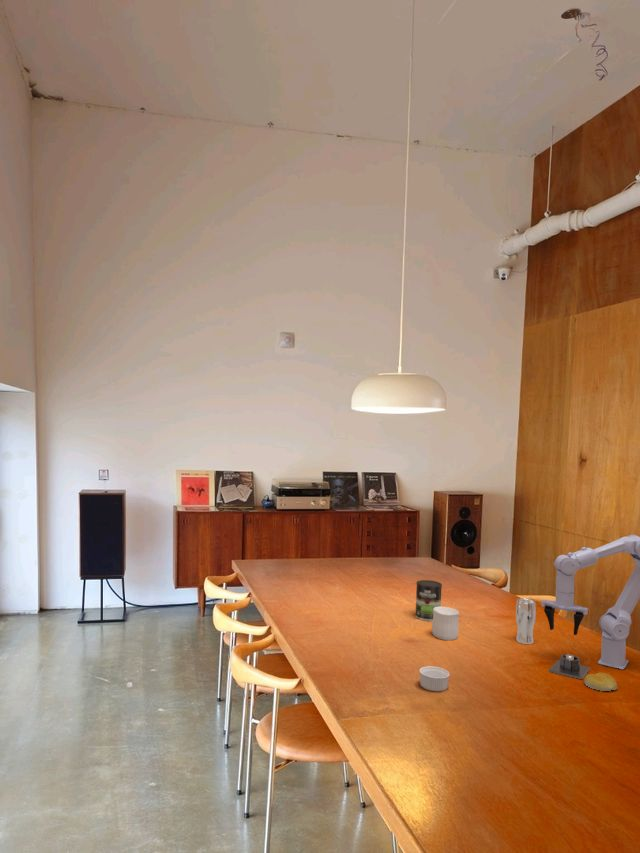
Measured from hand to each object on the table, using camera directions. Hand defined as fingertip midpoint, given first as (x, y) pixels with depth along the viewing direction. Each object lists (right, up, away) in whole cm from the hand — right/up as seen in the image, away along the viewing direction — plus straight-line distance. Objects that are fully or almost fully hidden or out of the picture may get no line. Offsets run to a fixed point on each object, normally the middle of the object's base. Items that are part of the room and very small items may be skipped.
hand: (563, 631), depth 203 cm
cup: (-36, -9, +21) cm, 42 cm away
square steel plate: (-2, -10, -8) cm, 13 cm away
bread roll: (+3, -10, -20) cm, 23 cm away
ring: (-1, -9, -9) cm, 12 cm away
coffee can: (-38, -9, +43) cm, 58 cm away
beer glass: (-7, -10, +18) cm, 22 cm away
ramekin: (-49, -8, -24) cm, 55 cm away
